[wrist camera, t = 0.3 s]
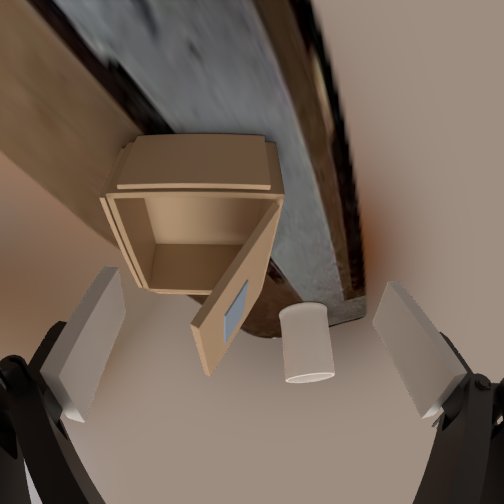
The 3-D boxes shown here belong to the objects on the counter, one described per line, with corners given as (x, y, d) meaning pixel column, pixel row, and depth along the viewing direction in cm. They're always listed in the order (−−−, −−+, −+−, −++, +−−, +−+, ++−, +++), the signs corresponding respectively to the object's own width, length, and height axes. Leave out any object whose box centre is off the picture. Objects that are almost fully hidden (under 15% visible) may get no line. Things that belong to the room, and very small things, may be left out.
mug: (326, 322, 56) (334, 380, 49) (284, 328, 57) (289, 387, 51) (326, 298, 47) (337, 369, 40) (275, 306, 48) (280, 377, 41)
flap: (273, 202, 19) (190, 323, 14) (281, 206, 19) (201, 329, 14) (254, 293, 30) (205, 373, 25) (259, 296, 30) (211, 377, 24)
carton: (118, 136, 21) (94, 186, 17) (276, 136, 22) (286, 187, 18) (149, 247, 33) (141, 293, 30) (257, 249, 34) (260, 295, 31)
